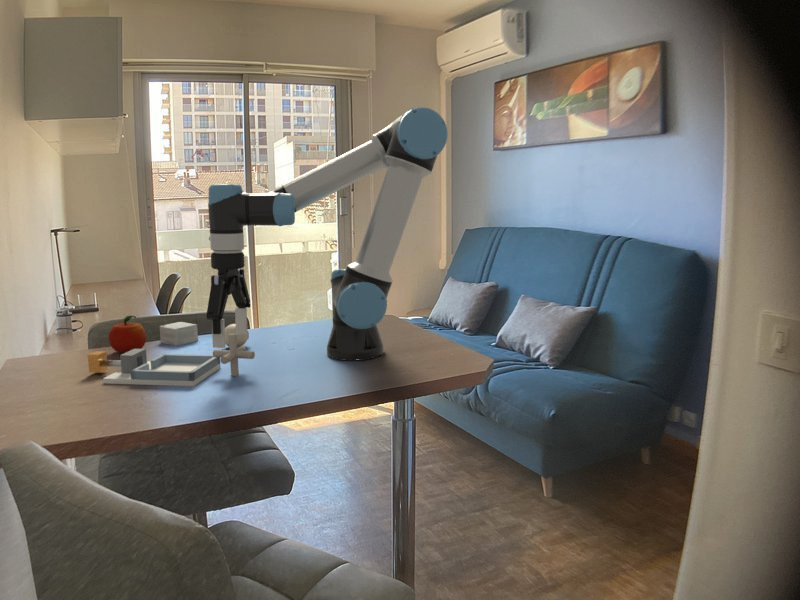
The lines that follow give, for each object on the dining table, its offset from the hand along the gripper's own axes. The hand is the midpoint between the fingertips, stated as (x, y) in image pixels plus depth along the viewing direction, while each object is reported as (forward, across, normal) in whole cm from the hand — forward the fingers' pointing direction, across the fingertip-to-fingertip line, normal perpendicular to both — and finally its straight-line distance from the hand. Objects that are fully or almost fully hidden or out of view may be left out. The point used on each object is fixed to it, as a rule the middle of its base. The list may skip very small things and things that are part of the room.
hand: (230, 340), depth 150 cm
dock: (+9, +2, -16) cm, 19 cm away
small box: (+9, -31, -29) cm, 44 cm away
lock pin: (+8, +2, -29) cm, 30 cm away
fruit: (+9, -18, -37) cm, 43 cm away
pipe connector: (+9, 0, +1) cm, 9 cm away
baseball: (+9, -26, -9) cm, 29 cm away
